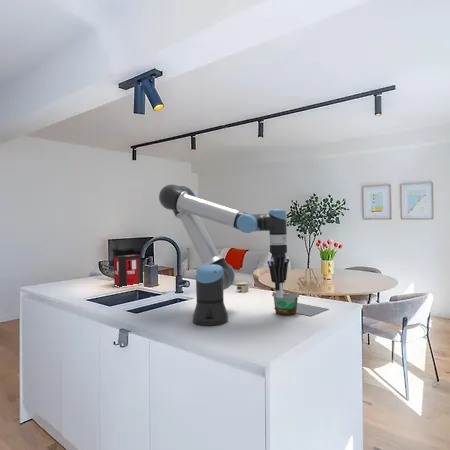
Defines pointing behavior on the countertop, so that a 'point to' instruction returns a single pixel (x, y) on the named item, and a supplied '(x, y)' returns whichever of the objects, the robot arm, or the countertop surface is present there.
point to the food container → (286, 304)
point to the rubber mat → (308, 309)
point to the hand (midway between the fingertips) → (279, 297)
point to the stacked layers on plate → (242, 287)
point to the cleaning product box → (128, 270)
